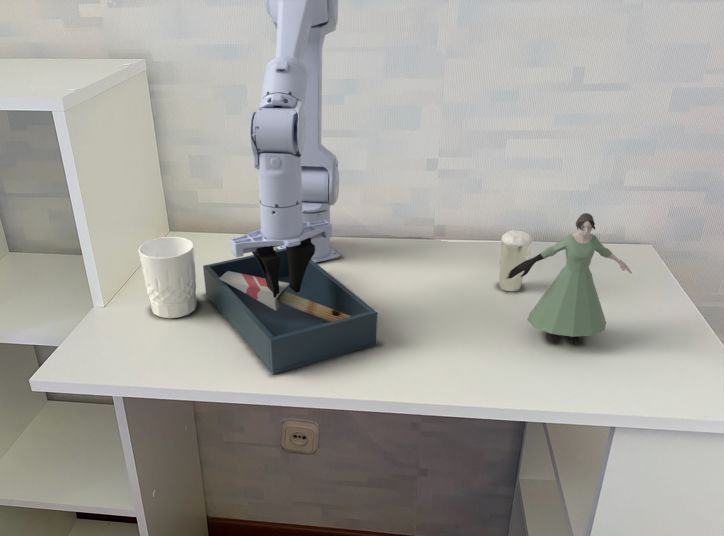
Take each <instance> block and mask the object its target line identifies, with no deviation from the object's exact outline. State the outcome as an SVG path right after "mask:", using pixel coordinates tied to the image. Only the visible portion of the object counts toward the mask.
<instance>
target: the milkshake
mask: <svg viewBox="0 0 724 536" xmlns="http://www.w3.org/2000/svg"><path fill="white" fill-rule="evenodd" d="M537 234H538V232H535V233H534V235H533V236H532V237H531V235H530V234H528V233H527V232H525V231H520V230H518V229H517V230H516V229H511V230H509V231H506V232H505V233H504V234H502V236H501V238H500V259H499V260H500V261H499V276H498V277H499V278H498V286H499V289H500V290H503V291H506V292H518V291H520V289H521V288H522V284H523V279H524V276H522V277H521V275H522V274H523V273H524V271H522V272H521V273H519V274H517V275H516V276H514V277H513V278H511V279H510V278H509V279H508V278H507V277H508V276H509V274H510V273H511V272H510V271H511V270H512V269H514V268H515V267H516V266H518V265H519V264H521V263H522V262H524V261H526V260H529V255H530V251H531V247H532V244H533V241H534V238H536V235H537ZM509 272H510V273H509ZM508 273H509V274H508ZM507 275H508V276H507ZM506 276H507V277H506ZM506 278H507V279H508V280H507V279H506Z"/></svg>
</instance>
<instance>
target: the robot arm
mask: <svg viewBox="0 0 724 536" xmlns="http://www.w3.org/2000/svg"><path fill="white" fill-rule="evenodd" d="M264 2H265V8H266V13H267V14H268V16H269V18H270V21H271V22H272V23H273V25H274V26H275V29H276V44H275V45H276V46H275V58H272V59H271V60H269V62H268V63H267V64H266V66H265V69H264V75H263V81H262V87H261V94H260V98H259V99H260V100H259V105H258V110H257V111H253V112H252V113H251V116H250V122H249V138H250V139H249V140H250V146H251V147H250V148H251V152H252V154H253V165H254V168H255V169H257V181H258V201H259V217H260V228H259V229H257V230H254V231H251V232H248V233H246V234H244V235H241V236H238V237H233V238H230V239H229V244H230V253H231V254H232V255H233V256H234V257H235V258H241V257H244V254H248V253H252V255H254V256H255V258H256V260H257V262H258V263H259V265H260V267H261V269H262V272H263V274H264V277H265V280H266V283H267V286H268V288H269V289H270V290H271V291H272V292H273V296H274V298H275V297H276V295H277V294H279V279H278V276H279V265H280V260H281V258H280V257H279V256H277V255H276V251H275V250H276V249H274V248H277V250H279V249H284V248H286V250H287V256H288V264H289V283H290V284H289V285H290V288H291V289H292V290H294V291H295V292H300V288H301V284H302V280H303V276H304V273H305V270H306V268H307V266H308V263H309V261H310V260H313V261H314V262H315V263H316V264H317V263H320V262H325V261H329V260H334V259H338V258H340V257H341V256H340V253H338V252H337V251H336V250H334V249H333V248H331V238H332V237H333V224H332V223H331V206H334V205H335V204H336V203H337V202H338V200H339V192H340V171H339V160H338V158H337V156H336V154H334V153H333V152H331V150H329V149H328V148H326V147H325V146H324V145H323V143H322V126H323V125H322V124H323V123H322V115H323V114H322V113H323V109H322V108H323V106H322V105H323V104H322V103H323V101H322V100H323V99H322V98H323V87H322V86H323V46H324V42H325V38H326V35H328V34H331V33H333V32H335V31H336V30H337V25H338V21H339V19H338V18H339V0H265V1H264ZM278 297H279V296H278Z"/></svg>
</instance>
